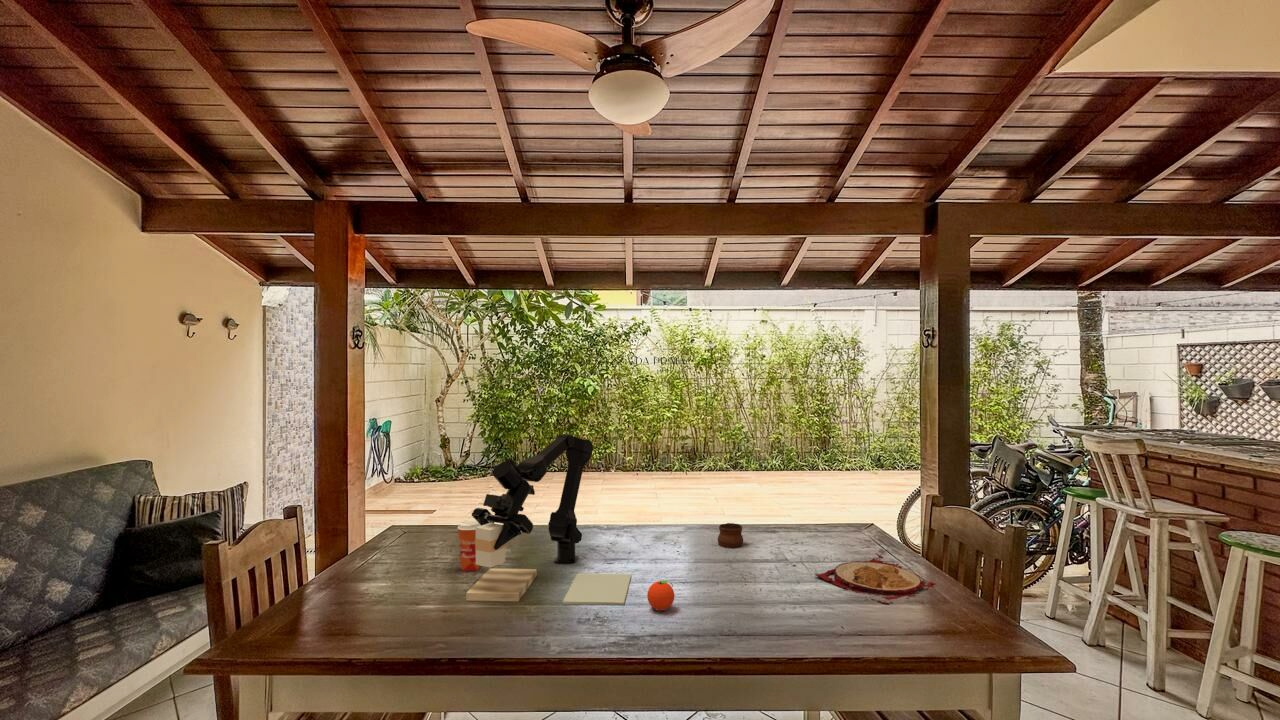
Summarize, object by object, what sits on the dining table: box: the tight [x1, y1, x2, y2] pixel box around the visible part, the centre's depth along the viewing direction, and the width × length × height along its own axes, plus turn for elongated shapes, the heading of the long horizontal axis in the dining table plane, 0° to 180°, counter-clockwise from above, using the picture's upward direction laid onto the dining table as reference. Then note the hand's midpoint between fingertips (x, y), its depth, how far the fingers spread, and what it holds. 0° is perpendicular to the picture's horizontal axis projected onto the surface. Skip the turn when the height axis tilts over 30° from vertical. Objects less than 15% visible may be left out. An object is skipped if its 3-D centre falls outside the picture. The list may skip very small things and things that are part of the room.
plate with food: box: [814, 553, 937, 605], centre depth 173 cm, size 25×26×4 cm
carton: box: [475, 522, 506, 569], centre depth 166 cm, size 6×6×10 cm
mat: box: [562, 572, 632, 606], centre depth 169 cm, size 22×16×1 cm
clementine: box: [646, 580, 675, 611], centre depth 155 cm, size 8×7×7 cm
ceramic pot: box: [717, 522, 744, 549], centre depth 211 cm, size 18×18×7 cm
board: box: [465, 567, 538, 602], centre depth 171 cm, size 20×14×2 cm
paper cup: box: [457, 519, 481, 572], centre depth 188 cm, size 8×8×14 cm
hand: (486, 547), depth 165 cm, fingers closed on carton, 6 cm apart
